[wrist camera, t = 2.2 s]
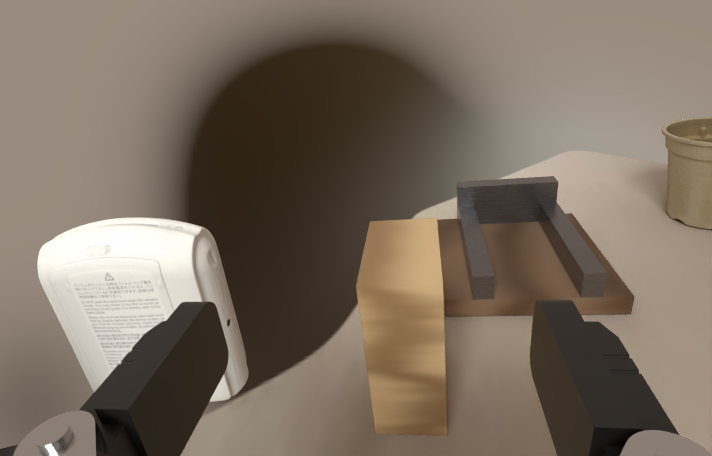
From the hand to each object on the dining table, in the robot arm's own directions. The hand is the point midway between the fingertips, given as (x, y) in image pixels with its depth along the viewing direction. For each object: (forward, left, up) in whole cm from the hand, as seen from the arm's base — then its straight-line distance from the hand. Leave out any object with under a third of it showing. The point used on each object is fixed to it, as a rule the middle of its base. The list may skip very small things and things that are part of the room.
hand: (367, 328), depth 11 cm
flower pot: (-28, -34, -14) cm, 46 cm away
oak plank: (0, -12, -14) cm, 19 cm away
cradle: (-9, -26, -14) cm, 31 cm away
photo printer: (+16, -12, -14) cm, 24 cm away
